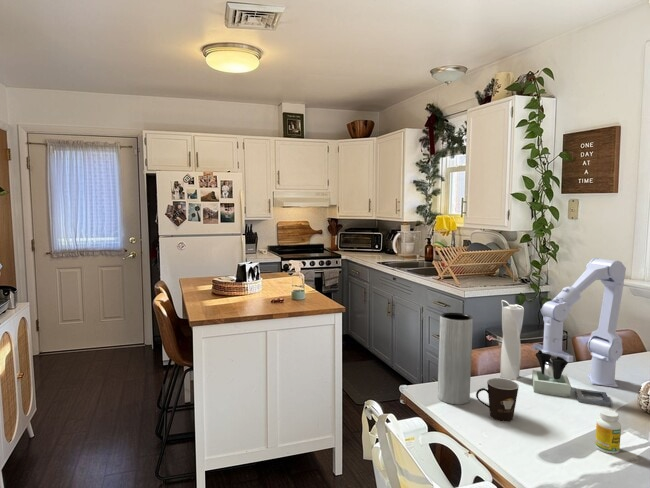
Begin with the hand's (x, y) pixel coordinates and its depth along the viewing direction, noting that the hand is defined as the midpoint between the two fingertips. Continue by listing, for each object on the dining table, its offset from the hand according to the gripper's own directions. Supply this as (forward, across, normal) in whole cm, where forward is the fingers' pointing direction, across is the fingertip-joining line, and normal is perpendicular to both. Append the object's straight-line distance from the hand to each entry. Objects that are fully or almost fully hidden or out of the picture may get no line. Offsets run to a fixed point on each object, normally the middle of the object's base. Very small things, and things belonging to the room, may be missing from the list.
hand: (550, 376), depth 157 cm
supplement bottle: (+5, +34, -20) cm, 40 cm away
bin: (+4, 0, 0) cm, 4 cm away
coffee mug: (+5, +8, -32) cm, 34 cm away
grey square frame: (+4, +11, +6) cm, 13 cm away
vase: (+5, -6, -36) cm, 37 cm away
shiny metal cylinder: (+2, 0, 0) cm, 3 cm away
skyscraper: (+5, -14, -4) cm, 15 cm away
